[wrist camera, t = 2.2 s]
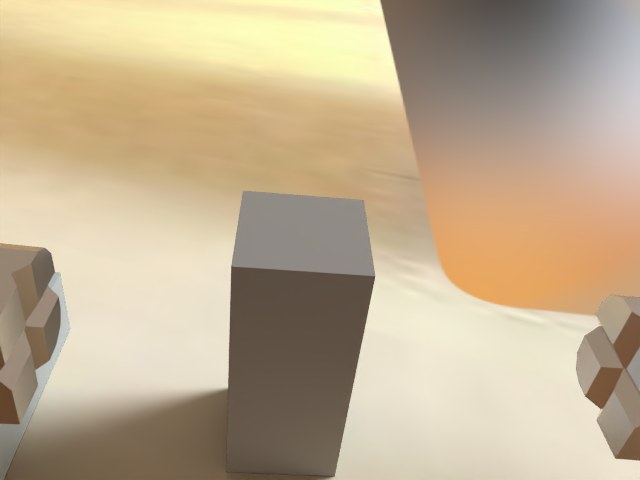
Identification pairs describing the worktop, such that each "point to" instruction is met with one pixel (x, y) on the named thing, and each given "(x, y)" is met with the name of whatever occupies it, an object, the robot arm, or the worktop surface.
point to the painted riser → (6, 437)
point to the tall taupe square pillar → (295, 330)
